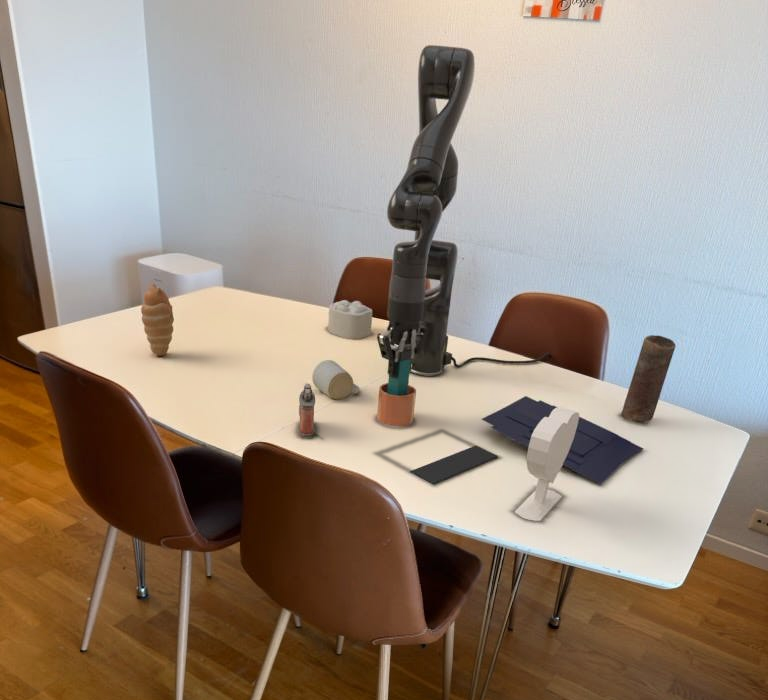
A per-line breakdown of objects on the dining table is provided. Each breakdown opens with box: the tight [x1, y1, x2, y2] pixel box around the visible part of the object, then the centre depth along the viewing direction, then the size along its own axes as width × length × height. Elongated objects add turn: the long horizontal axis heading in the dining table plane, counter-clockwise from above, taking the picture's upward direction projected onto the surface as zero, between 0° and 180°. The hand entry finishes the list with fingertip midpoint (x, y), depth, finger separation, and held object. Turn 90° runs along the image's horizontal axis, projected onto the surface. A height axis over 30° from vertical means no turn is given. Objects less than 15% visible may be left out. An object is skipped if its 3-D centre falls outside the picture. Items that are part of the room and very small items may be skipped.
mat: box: [409, 445, 499, 485], centre depth 148 cm, size 20×16×1 cm
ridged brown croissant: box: [140, 282, 175, 357], centre depth 181 cm, size 9×8×18 cm
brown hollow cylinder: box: [620, 334, 677, 424], centre depth 169 cm, size 8×7×20 cm
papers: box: [481, 395, 644, 485], centre depth 158 cm, size 24×30×4 cm
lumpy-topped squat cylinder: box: [327, 299, 373, 340], centre depth 214 cm, size 10×13×9 cm
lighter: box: [298, 382, 316, 439], centre depth 151 cm, size 8×3×10 cm, turn 5°
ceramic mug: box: [311, 359, 360, 401], centre depth 171 cm, size 11×8×8 cm
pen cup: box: [376, 382, 417, 427], centre depth 160 cm, size 8×8×8 cm
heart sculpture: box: [514, 406, 580, 522], centre depth 130 cm, size 16×5×18 cm, turn 148°
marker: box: [387, 347, 412, 396], centre depth 157 cm, size 3×3×14 cm
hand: (399, 374), depth 157 cm, fingers closed on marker, 3 cm apart
